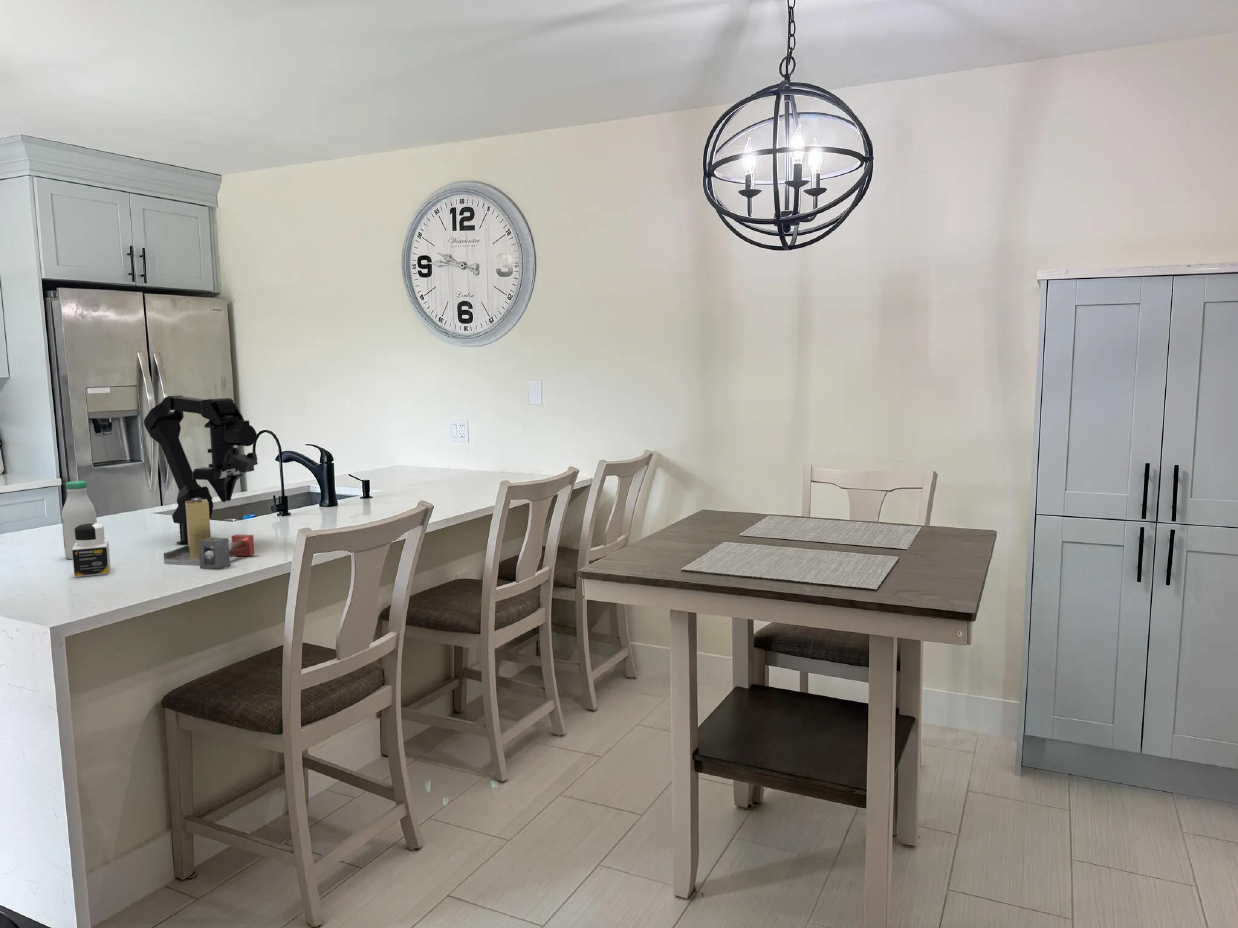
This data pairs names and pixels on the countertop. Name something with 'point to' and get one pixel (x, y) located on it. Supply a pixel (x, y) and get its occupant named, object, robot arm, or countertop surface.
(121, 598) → the countertop surface
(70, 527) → the milk bottle
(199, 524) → the tan wooden block
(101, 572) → the medicine bottle
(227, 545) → the block
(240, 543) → the ram handle
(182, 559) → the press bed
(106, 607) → the countertop surface
